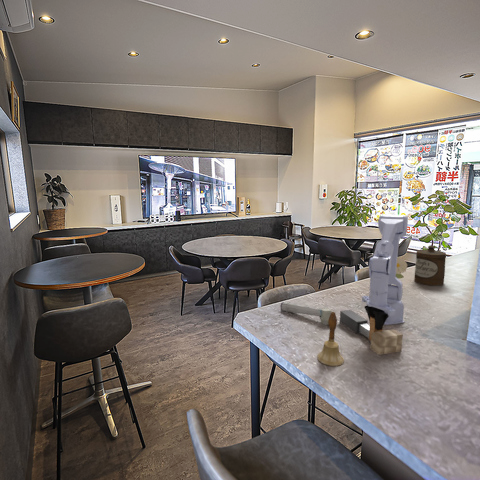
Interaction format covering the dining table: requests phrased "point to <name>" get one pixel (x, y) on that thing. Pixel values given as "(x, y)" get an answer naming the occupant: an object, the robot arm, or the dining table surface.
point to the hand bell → (331, 346)
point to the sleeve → (351, 320)
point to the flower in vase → (400, 267)
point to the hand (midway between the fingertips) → (376, 327)
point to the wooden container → (430, 266)
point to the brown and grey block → (368, 328)
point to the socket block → (386, 341)
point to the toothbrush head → (307, 311)
